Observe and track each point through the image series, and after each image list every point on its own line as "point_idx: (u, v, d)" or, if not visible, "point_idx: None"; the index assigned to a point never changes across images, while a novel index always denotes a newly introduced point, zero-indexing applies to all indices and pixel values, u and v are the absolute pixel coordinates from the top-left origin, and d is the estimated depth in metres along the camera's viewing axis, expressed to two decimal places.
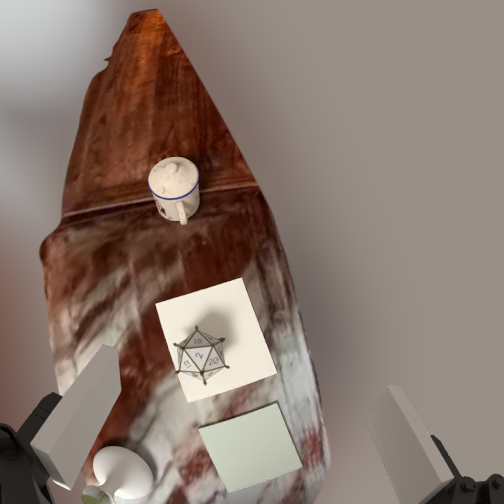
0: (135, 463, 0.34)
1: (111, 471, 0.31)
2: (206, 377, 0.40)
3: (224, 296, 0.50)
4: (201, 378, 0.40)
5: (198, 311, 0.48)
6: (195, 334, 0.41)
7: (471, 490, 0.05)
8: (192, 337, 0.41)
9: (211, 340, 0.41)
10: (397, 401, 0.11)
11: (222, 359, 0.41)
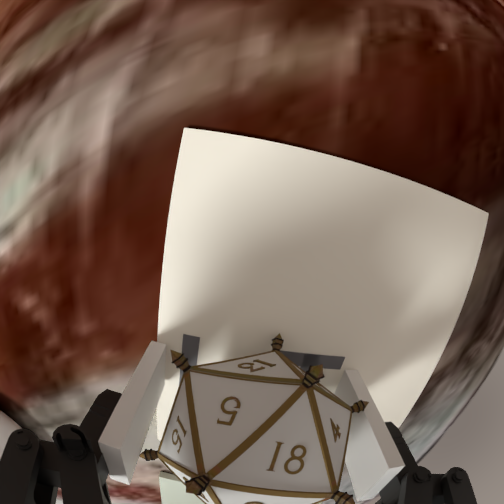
0: None
1: None
2: None
3: (432, 240, 0.12)
4: None
5: (332, 239, 0.12)
6: (292, 412, 0.07)
7: (425, 480, 0.06)
8: (272, 428, 0.07)
9: (336, 446, 0.08)
10: (354, 385, 0.12)
11: None
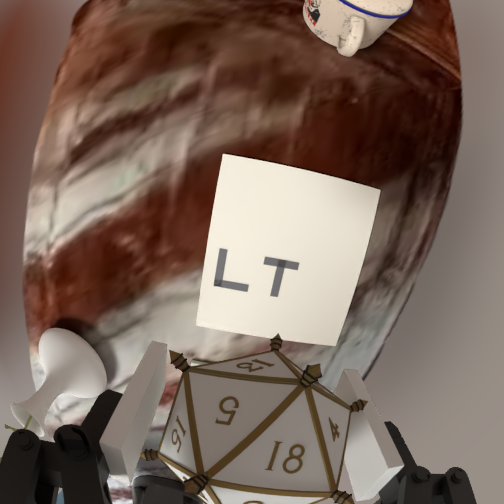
0: (89, 368, 0.29)
1: (55, 370, 0.26)
2: None
3: (341, 203, 0.27)
4: None
5: (288, 202, 0.27)
6: (290, 412, 0.07)
7: (425, 480, 0.06)
8: (270, 427, 0.07)
9: (335, 445, 0.08)
10: (353, 384, 0.12)
11: None
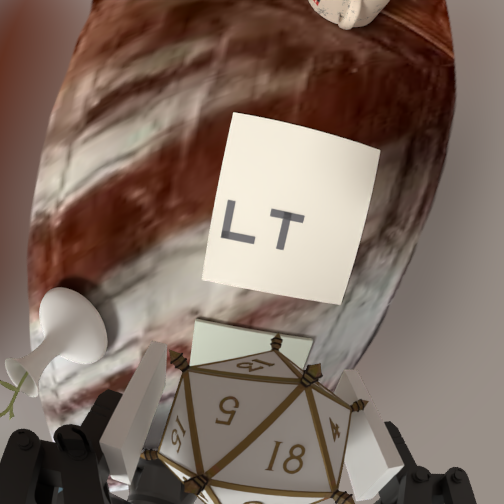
0: (90, 327, 0.29)
1: (54, 329, 0.27)
2: None
3: (343, 160, 0.28)
4: None
5: (293, 157, 0.28)
6: (290, 412, 0.07)
7: (425, 480, 0.06)
8: (270, 427, 0.07)
9: (336, 445, 0.08)
10: (353, 385, 0.12)
11: None
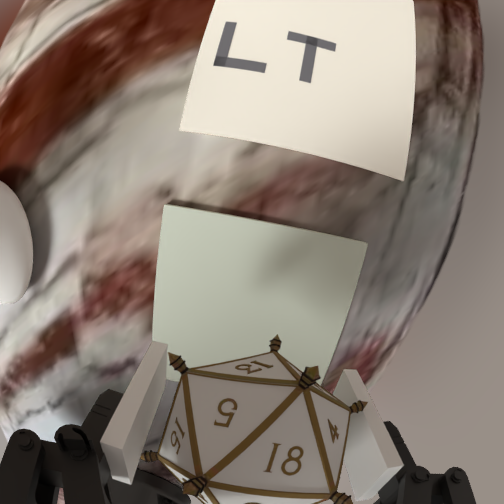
0: (7, 229, 0.15)
1: None
2: None
3: None
4: None
5: None
6: (288, 413, 0.07)
7: (424, 480, 0.06)
8: (268, 429, 0.07)
9: (334, 447, 0.08)
10: (352, 384, 0.12)
11: None
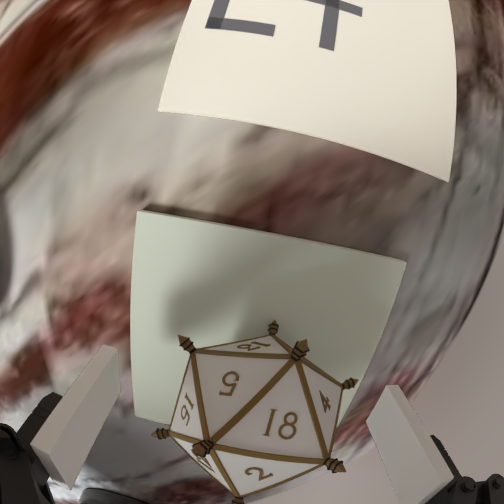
0: None
1: None
2: None
3: None
4: None
5: None
6: (283, 382, 0.09)
7: (471, 490, 0.05)
8: (266, 396, 0.09)
9: (326, 416, 0.09)
10: (397, 401, 0.11)
11: None
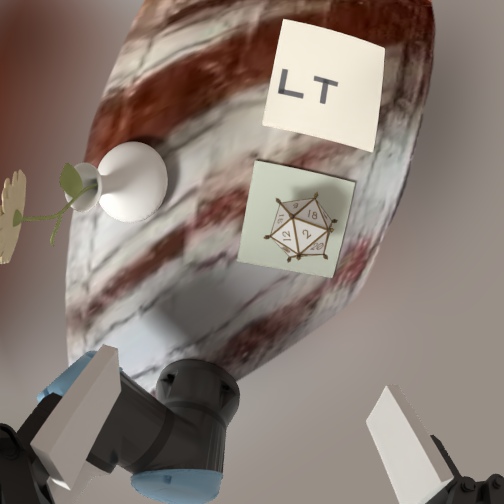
0: (155, 169, 0.34)
1: (119, 168, 0.32)
2: (296, 256, 0.35)
3: (360, 51, 0.32)
4: (289, 254, 0.35)
5: (326, 46, 0.32)
6: (311, 203, 0.32)
7: (471, 490, 0.05)
8: (307, 206, 0.32)
9: (326, 219, 0.33)
10: (397, 401, 0.11)
11: (325, 246, 0.34)
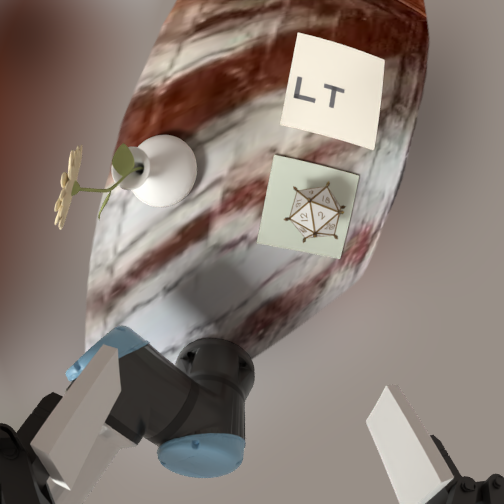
0: (187, 159, 0.39)
1: (155, 156, 0.37)
2: (310, 236, 0.40)
3: (363, 62, 0.38)
4: (305, 235, 0.41)
5: (334, 58, 0.38)
6: (324, 190, 0.38)
7: (471, 490, 0.05)
8: (321, 192, 0.37)
9: (336, 204, 0.38)
10: (397, 401, 0.11)
11: (336, 227, 0.39)
